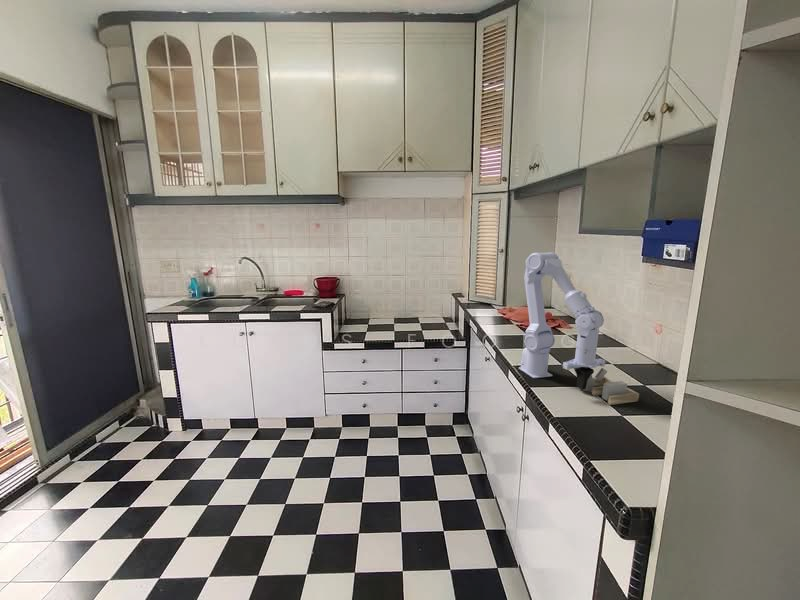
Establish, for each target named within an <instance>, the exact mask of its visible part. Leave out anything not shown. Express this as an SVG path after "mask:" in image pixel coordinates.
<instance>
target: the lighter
mask: <svg viewBox="0 0 800 600" xmlns="http://www.w3.org/2000/svg"><path fill="white" fill-rule="evenodd" d="M607 373H608V370H606V369H605V368H604V367H601V368H600V369H599V370H598V372H597V373H596V374H595V376H594V377H593V374H592V375H591V376H590V377H589V378H588V380H587V385H586V389H582V390H581V389H580V388H578V389H579V390H580V391H585V392H591V393H592V388H593V387H596V385H595V381H596V380H598V381H601V379H602V378H603V377H604V376H606V374H607Z"/></svg>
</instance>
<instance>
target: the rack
mask: <svg viewBox="0 0 800 600" xmlns="http://www.w3.org/2000/svg"><path fill="white" fill-rule="evenodd" d="M610 382H616V381H615V380H612V379H611V378H609V377H606V375H604V377H603V378H602V379H601V381H598V380H596V381H595V386H594V387H593V388H592V392H591V396H602V392H603V385H604V383H610ZM601 385H602V386H601ZM639 398H640V393H639V392H637V391H635V390H632V389H631V388H629V387H627V389H626V394H622V395H614V396H609V397H608V401H607V405H608V406H611V405H612V406H614V405H621V404H626V403H627V404H628V403H634V402H638V401H639Z"/></svg>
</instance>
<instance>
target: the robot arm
mask: <svg viewBox="0 0 800 600" xmlns="http://www.w3.org/2000/svg"><path fill="white" fill-rule="evenodd" d="M545 276H550V277H552V279H553V280H554V281H555V282H556V284H557V285H558V286H559V288H560V289H561V291H562V292H563V293H564V294H565V297H564V301H565V303H566V304H567V306H568V307H569V310H570V311H571V313H572V314H573V315H574V316H575V317H574V318H576V319H575V321H574V322H575V325H576V328H577V338H576V346H575V353H574V355H575V356H574V358H572V359H570V360H568V361H563V362H562V368H563V369H565V370H566V371H570V369H572V370H574V372H575V374H576V387H577V388H578V389H579V388H580V389H581V390H580V389H579V390H580V391H583V390H582V389H586V385H587V380H588V378H589V377H590V376H591V375H592V376H593V374H594V372H595V370H594V369H595V368H597V367H605V366H606V359H603V358H596V356H597V348H598V340H599V332H600V328H601V327H602V326H603V324H604V321H605V319H604V315H603V313H602V312H601V311H599V310H597V309H595V307H594V306H592V304H591V302H590V301H589V300H588V299H587V294H586V293H584V292H583V291H582V290H578V289H576V287H575V286H574V284H573V283H572V280H571V278H570V277H569V276H568V273H567V272H566V270H565V268H564V267H563V261H562V260H561V259H560V258H559V256H558V254H557V253H555V252H554V251H549V252H533V253H531V254H530V255H529V256H528V257H527V258H526V260H525V272H524V275H523V279H524V280H523V281H524V287H525V294H526V302H527V311H528V320H529V325H528V326H527V328H526V330H525V338H524V340H523V341H524V345H525V347H524V349H523V350H522V352H521V359H520V360H521V363H520V366H519V367H518V370H520V371H522V372H523V373H525V374H526V375H528V376H529V377H531V378H532V379H539V378H549V377H553V374H551V373H550V372H549V371H548V368H549V359H550V352H551V348H553V346H554V345H555V342H556V341H555V340H556V337H555V335H554V333H553V332H552V328H551V326H550V325H549V324H548V323H547V320H546V319H547V318H546V312H545V311H546V310H545V303H544V295H543V288H542V280H543V278H544V277H545Z"/></svg>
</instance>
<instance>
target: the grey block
mask: <svg viewBox="0 0 800 600" xmlns="http://www.w3.org/2000/svg"><path fill="white" fill-rule="evenodd" d="M602 386H603V392H602V395H601V399H602V400H605V401H607V402H608V397H609V396H614V395H622V394H626V389H627V388H628V383H626V382H625V381H623V380H618V381H615V382H610V383H604V384H602Z"/></svg>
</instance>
